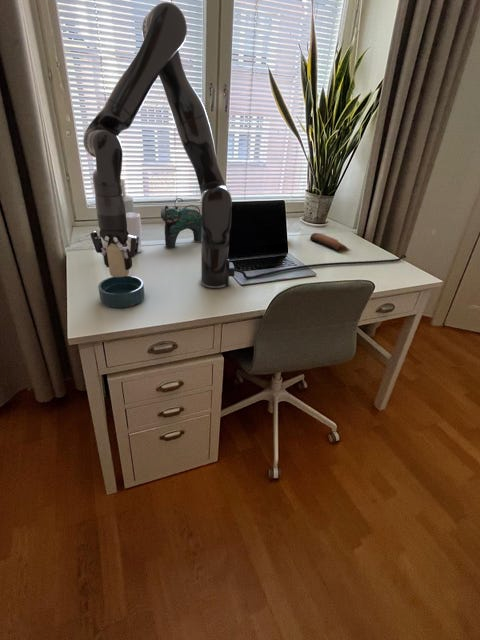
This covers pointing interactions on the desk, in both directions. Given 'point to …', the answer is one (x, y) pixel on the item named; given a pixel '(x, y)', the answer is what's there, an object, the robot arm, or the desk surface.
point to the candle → (116, 261)
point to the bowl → (121, 291)
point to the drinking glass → (134, 227)
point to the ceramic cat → (181, 223)
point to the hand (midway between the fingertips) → (118, 267)
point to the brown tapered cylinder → (328, 241)
